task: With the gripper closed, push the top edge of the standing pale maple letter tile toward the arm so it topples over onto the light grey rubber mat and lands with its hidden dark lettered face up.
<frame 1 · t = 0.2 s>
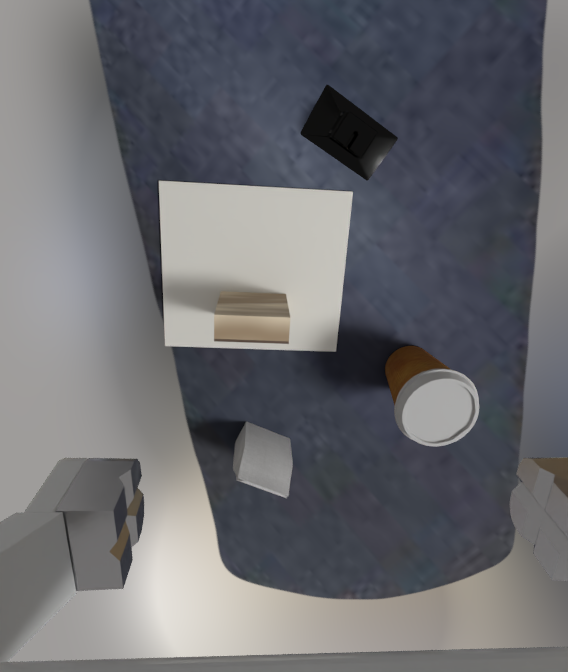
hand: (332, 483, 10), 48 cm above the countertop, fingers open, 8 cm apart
disposable coffee cup: (407, 366, 62), on the countertop
grey piece: (262, 439, 65), on the countertop
letter block: (253, 304, 58), resting on felt mat
black mounting plate: (347, 136, 52), on the countertop
felt mat: (254, 272, 57), on the countertop
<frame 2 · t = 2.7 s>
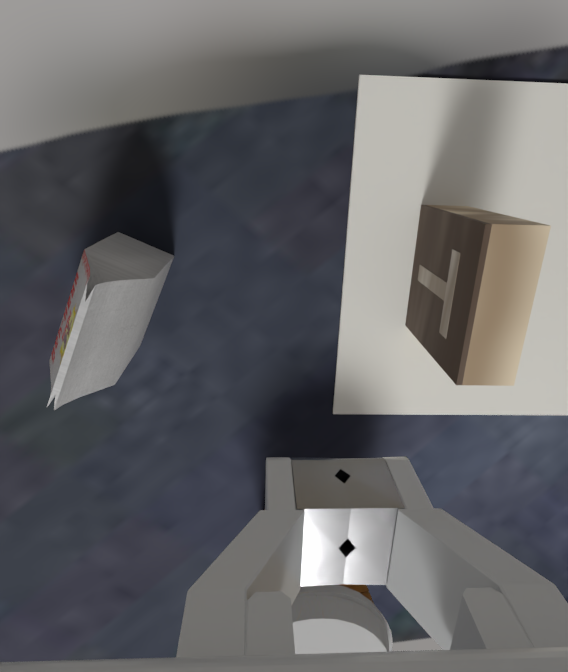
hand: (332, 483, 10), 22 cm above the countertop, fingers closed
disposable coffee cup: (299, 518, 38), on the countertop
grey piece: (130, 290, 31), on the countertop
letter block: (435, 268, 31), resting on felt mat
felt mat: (493, 268, 31), on the countertop
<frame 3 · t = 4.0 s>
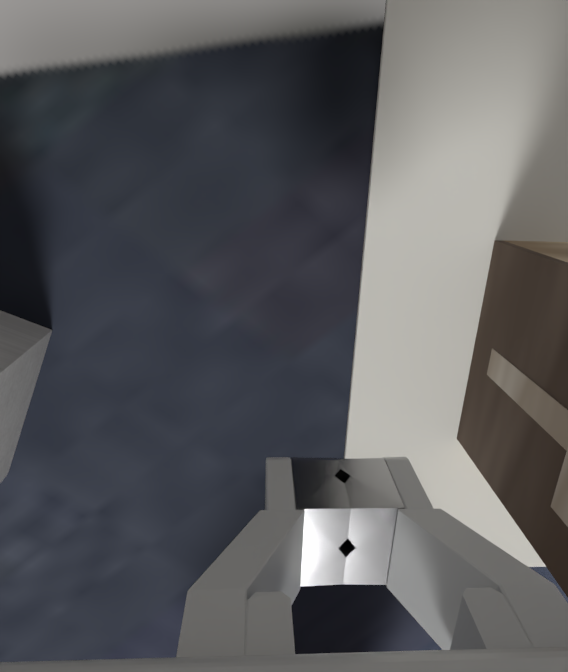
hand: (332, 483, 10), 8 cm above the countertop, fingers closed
letter block: (512, 347, 18), resting on felt mat
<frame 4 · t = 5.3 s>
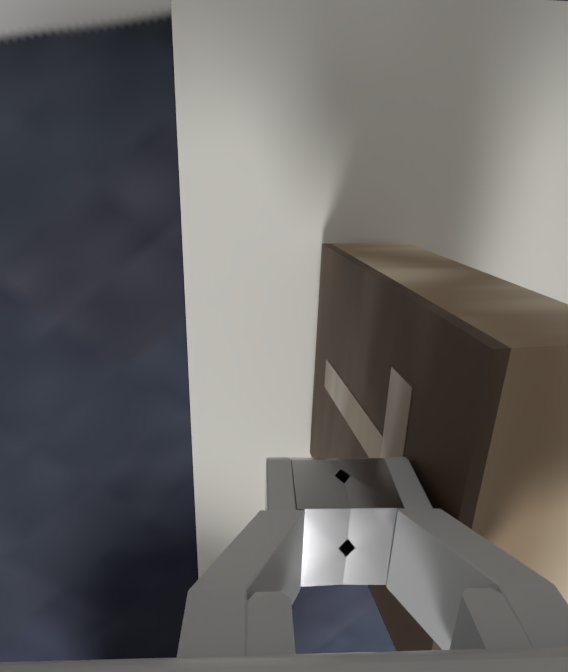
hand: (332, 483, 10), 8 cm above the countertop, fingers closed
letter block: (355, 354, 17), resting on felt mat, tilted 9°, touching gripper
felt mat: (458, 350, 17), on the countertop
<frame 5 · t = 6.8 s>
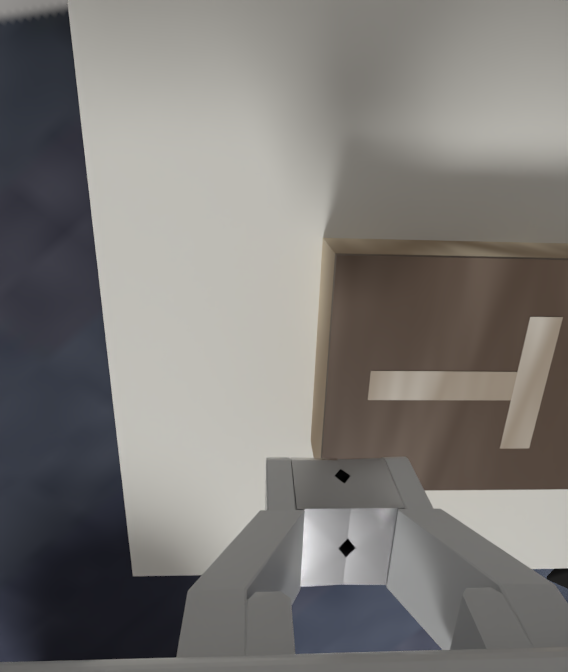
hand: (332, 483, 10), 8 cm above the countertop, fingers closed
letter block: (321, 364, 16), point 2 cm above the countertop, tilted 90°, touching felt mat
felt mat: (381, 346, 17), on the countertop
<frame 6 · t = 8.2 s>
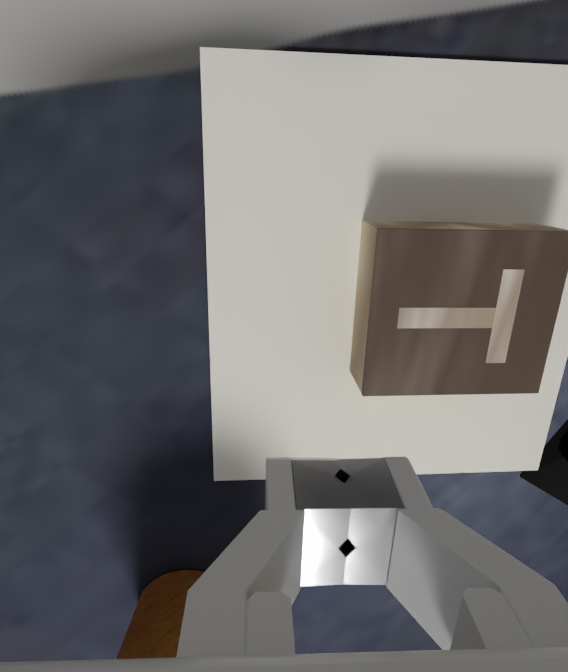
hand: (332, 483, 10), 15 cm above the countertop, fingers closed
disposable coffee cup: (187, 602, 31), on the countertop
letter block: (362, 308, 23), point 2 cm above the countertop, tilted 90°, touching felt mat
felt mat: (400, 298, 24), on the countertop
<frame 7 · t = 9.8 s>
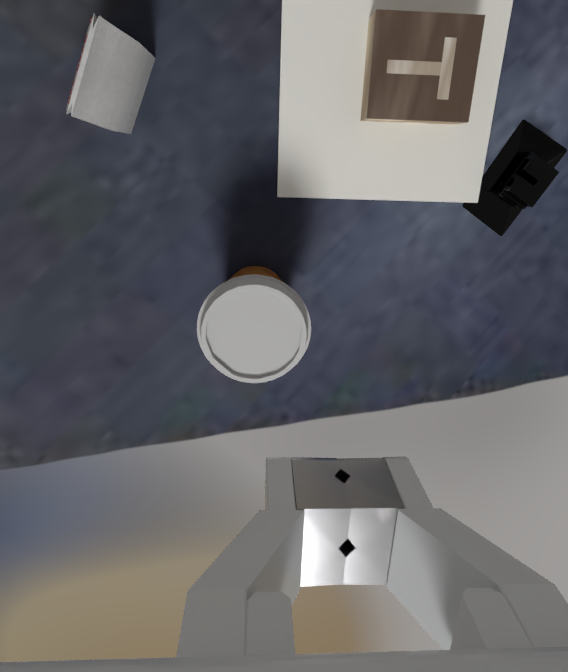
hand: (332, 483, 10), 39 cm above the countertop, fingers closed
disposable coffee cup: (255, 294, 49), on the countertop
grey piece: (123, 87, 42), on the countertop
letter block: (367, 68, 40), point 2 cm above the countertop, tilted 90°, touching felt mat
black mounting plate: (508, 179, 47), on the countertop
felt mat: (390, 73, 42), on the countertop
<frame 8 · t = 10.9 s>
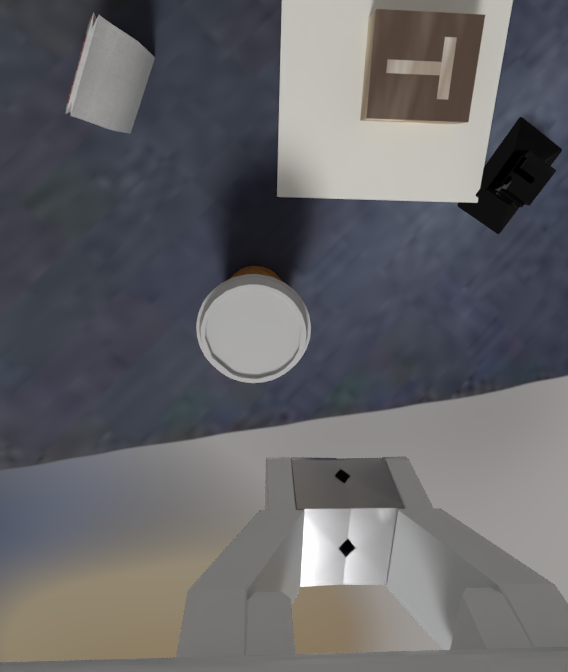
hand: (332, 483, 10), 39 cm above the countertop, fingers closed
disposable coffee cup: (255, 294, 49), on the countertop
grey piece: (123, 87, 42), on the countertop
letter block: (367, 68, 40), point 2 cm above the countertop, tilted 90°, touching felt mat
black mounting plate: (505, 177, 46), on the countertop
felt mat: (390, 73, 42), on the countertop
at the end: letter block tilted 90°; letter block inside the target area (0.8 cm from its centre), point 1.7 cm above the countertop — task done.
